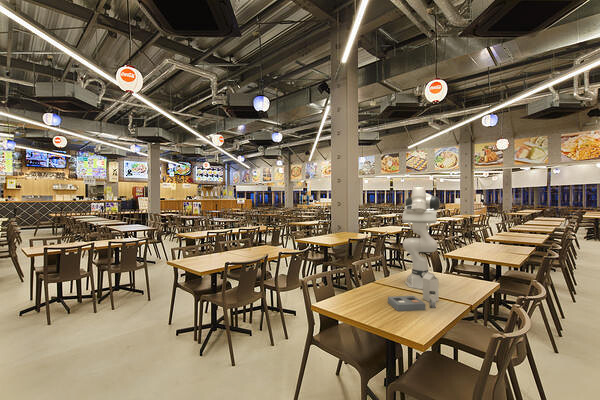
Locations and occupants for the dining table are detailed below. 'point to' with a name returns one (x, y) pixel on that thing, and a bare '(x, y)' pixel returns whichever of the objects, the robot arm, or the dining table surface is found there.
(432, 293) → the plug
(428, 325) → the dining table surface
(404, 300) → the socket board
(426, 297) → the milk carton
